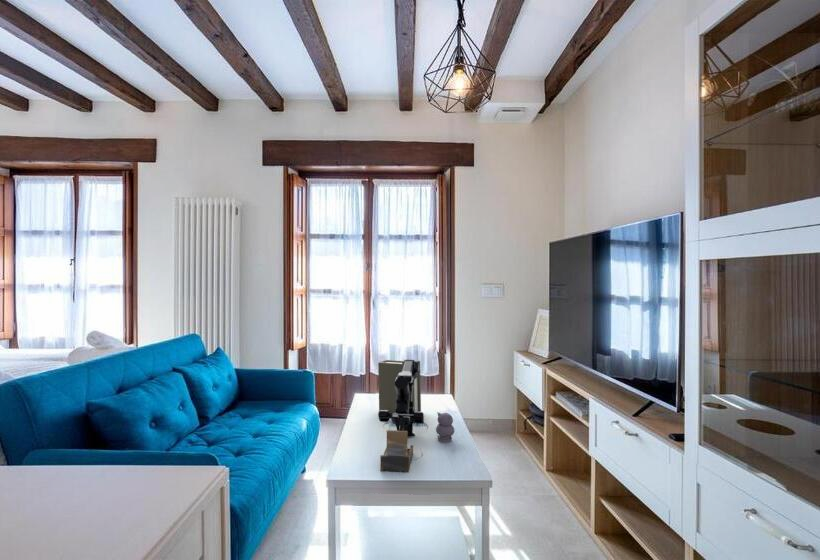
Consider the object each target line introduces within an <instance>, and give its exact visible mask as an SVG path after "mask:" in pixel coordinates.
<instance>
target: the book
mask: <svg viewBox="0 0 820 560" xmlns="http://www.w3.org/2000/svg"><path fill="white" fill-rule="evenodd" d="M403 362H404V360H397V359H396V360H394V359H393V360H392V359H383V360H380V361H378V365H377V367H378V369H377V370H378V371H377V372H378V412H379V411H380V410H388V411H389V413H390V414H392V413H395V407H396V399H397V393H396V388H395V380H396V377H398V374H399V373H401V372H402V363H403ZM415 362H417V363H419V373H418V375H417V378H416V379H415V383H414V385H413V393H412V402H413V405H414V410H415V411H418V412H422V403H421V402H422V396H421V395H422V393H421V392H422V390H421V360H415Z"/></svg>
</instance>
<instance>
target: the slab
mask: <svg viewBox="0 0 820 560" xmlns="http://www.w3.org/2000/svg"><path fill="white" fill-rule="evenodd" d="M407 435H408V431H397V429H396V430H395V429H394V430H393V429H392V430H391V429H387V430H386V447H387V452H386V454H385V456H404V457H407V449H408V438H407Z"/></svg>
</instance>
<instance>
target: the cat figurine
mask: <svg viewBox="0 0 820 560" xmlns="http://www.w3.org/2000/svg"><path fill="white" fill-rule="evenodd" d="M436 413H437V423H438V424H437V426H436V427H435V432H436V434H437V435H438V436H437V441H438V442H439V443H444V444H446V443H447V444H448V443H451V442H452V441H453V437H452V436H453V435H454V433H455V428H454V425H453V423H454V419H453V416H452V415H451V414H450V413H447V412H442V413H441V412H438V411H437V412H436Z"/></svg>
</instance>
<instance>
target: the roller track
mask: <svg viewBox="0 0 820 560" xmlns="http://www.w3.org/2000/svg"><path fill="white" fill-rule="evenodd" d="M386 452H387V446H386V448H385V449H384V452H383V454H382V455H380V466H379V467H380V472H387V471H388V472H391V473H407V474H408V473H409V472H410V468H411V464H412V460H413V455H414V445H412V444H411V445H410V446H409V448H407V457H404V456H385V454H386Z"/></svg>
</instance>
